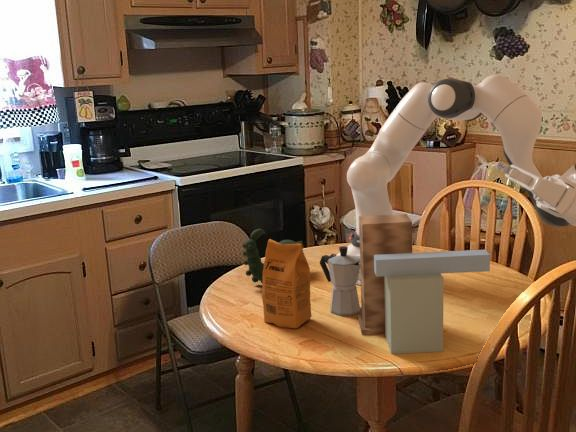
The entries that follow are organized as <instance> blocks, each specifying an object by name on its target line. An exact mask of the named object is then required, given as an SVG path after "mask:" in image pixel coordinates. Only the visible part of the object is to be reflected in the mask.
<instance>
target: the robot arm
mask: <svg viewBox="0 0 576 432" xmlns="http://www.w3.org/2000/svg"><path fill="white" fill-rule="evenodd" d="M481 116H485V117H486V118H487V119H488V121H489V122H490V123H491V124H492V125H493V127H495V129H497V131H498V134H499V135H500V138H501V141H502V143H503V144H502V145H503V149H502V153H503V156H504V158H505V160H506V162H507V163H508V164H506V163H504V162H502V161H500V160H498V161H497V163H496V164H495V168H496V169H497V170H499V171H501V172H503V173H504V176H505V177H506V178H507V179H508V180H510V181H511V182H513V183H516V185H519V186H521V187H522V188H523V189H524V190H525V192H526V193H527V195H528V196H529V198H530V199H531V202H532V203H533V205H534V208H535V210H536V212H537V214H538V216H539V218H540V219H541V220H542V221H543V223H545V224H547V225H549V226H553V227H559V228H560V227H561V228H563V227H567V226H570V225H571V226H573V227H575V228H576V163H574V164H573V165H571V167H570V168H569V169H567V170H566V171H565V172H564V173H563V174H562V175H560V174H553V175H551V176H550V175H546V176H544V177H543V176H542V174H541V173H540V171H539V170H538V168H537V166H536V165H535V163H534V160H533V151H534V148H535V144H536V141H537V139H538V137H539V135H540V131H541V128H542V112H541V110H540V108H539V107H538V105H537V104H536V103H535V101H534V100H533V99H532V98H531V97H530V96H529V95H527V93H526V92H525V91H524V90H522V88H521V87H519V85H517V84H516V83H514V82H513V81H512V80H510V79H509V78H507V76H505V75H502V74H499V73H496V74H491V75H489V76H487V77H484V79H482V81H481V82H479V83H478V84H476V83H474V82H471V81H469V80H466V79H458V78H454V77H452V78H449V77H448V78H443V79H440V80H438V81H437V82H435V83H434V84H432V83H429V82H418V83H416V84H415V85H414V86H413V87H412V88H411V89H410V90H409V91H408V92H407V93H405V95H404V96H403V97H402V98H401V100H400V101H399V103H398V104H397V105H396V107H395V108H394V109H393V110H392V111H391V113H390V114H389V116H388V118H386V120H385V122H384V123H383V125H382V126H381V128H379V130H378V131H379V132H378V133H377V136H376V138H375V140H374V141H373V143H372V144H371V145H370V146H371V147H370V148H369V149H368V150H367V152H365V154H362V155H361V156H359V157H356V159H353V162H351V164H350V166H349V167H348V169H347V172H346V181H347V184H348V185H349V187H350V188H351V193H352V197H353V202H354V208H355V222H356V226H355V228H356V229H355V231H354V232H353V233H351V235H349V237H348V238H349V241H350V240H351V243H350V244H349V245H348V246H346V247H348V249H347V255H352V256H356V257H357V258H359V259H360V236H359V216H376V215H393V207H392V204H391V201H390V196H389V193H388V183H389V182H391V181H392V180H393V179H394V177H395V176H396V175H397V174H398V172H399V170H400V169H401V168H402V166H403V164H404V163H405V161H406V160H407V158H408V156H409V155H410V154H411V152H412V150H413V149H414V148H415V146H416V145H417V144H418V142H419V141H420V140H421V138H422V137H423V136H424V134H425V133H426V132H427V131H428V129H429V127H431V124H432V123H433V122H434V121H435V120H436V119H437V118H442V119H445V120H450V121H454V122H460V121H463V122H471V121H474V120H476V119H479V118H480V117H481ZM339 255H340V251H339V252H338V253H337V254H336V256H339ZM356 285H359V286H361V272H360V270H359V275H358V282H357V283H356Z"/></svg>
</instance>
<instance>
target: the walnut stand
mask: <svg viewBox="0 0 576 432" xmlns="http://www.w3.org/2000/svg"><path fill="white" fill-rule="evenodd" d="M359 236H360V272H361V285H360V300H361V301H360V303H361V306H360V310H361V312H359V313H357V314H356V315H357V321H358V324H359V325H358V326H359V329H360V333H361V335H380V334H385V291H384V276H380V277H376V274H375V272H374V255H382V254H403V253H413V221H412V220H411V218H410V216H409V215H408V214H407V213H400V214H399V213H397V214H392V215H376V216H359Z"/></svg>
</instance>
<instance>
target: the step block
mask: <svg viewBox="0 0 576 432" xmlns="http://www.w3.org/2000/svg"><path fill="white" fill-rule="evenodd" d="M384 291H385V333H384V336H385V340H386V342H387V345H388V349H389V351H390V354H391V355H394V354H395V355H396V354H399V355H400V354H413V353H414V354H416V353H440V352H444V276H443V275H442V274H422V275H401V276H384Z"/></svg>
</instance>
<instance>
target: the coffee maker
mask: <svg viewBox="0 0 576 432" xmlns="http://www.w3.org/2000/svg"><path fill="white" fill-rule="evenodd" d="M338 249H339V250H338V251H339V252H340V255H339V256H337V254H336V253H331V254H330V255H328V254H324V255H322V256H321V257H320V259H319V260H320V261H319V265H320V267H321V270H322V272H323V274H324V275H325V278H326V280H327V282H328V283H330V282H331V284H332V285H333V286H332V293H331V301H330V313H331V314H334V315H337V316H339V317H347V316H351V317H352V316H354V315H357V313H362V309H361V306H360V301H359V300H360V299H359V294H358V290H357V284H356V283H357V282H358V275H359V270H360V259H359V258H357V257H356V256H352V255H347V249H348V247H347V246H345V245H343V246H339V247H338Z"/></svg>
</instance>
